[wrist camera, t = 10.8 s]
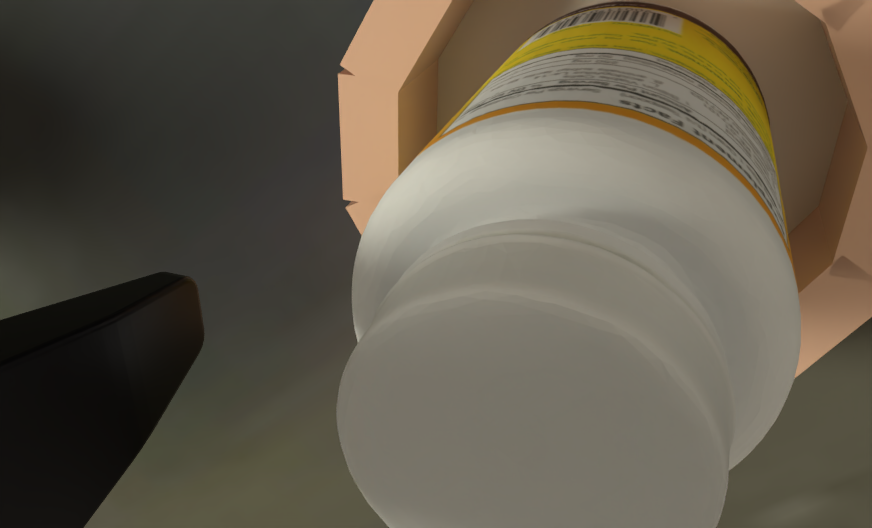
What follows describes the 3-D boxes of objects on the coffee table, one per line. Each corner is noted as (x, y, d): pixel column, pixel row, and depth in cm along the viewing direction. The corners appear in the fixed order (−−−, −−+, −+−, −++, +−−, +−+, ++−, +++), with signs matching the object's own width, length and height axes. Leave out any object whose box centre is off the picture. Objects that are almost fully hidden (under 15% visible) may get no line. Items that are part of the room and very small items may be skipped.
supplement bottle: (614, 298, 18) (514, 714, 10) (441, 124, 18) (172, 407, 9) (834, 142, 15) (973, 548, 7) (636, -74, 15) (509, 68, 6)
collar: (845, 383, 19) (867, 487, 16) (380, 296, 22) (327, 371, 19) (1040, -188, 13) (1132, -191, 10) (372, -200, 16) (292, -205, 13)
